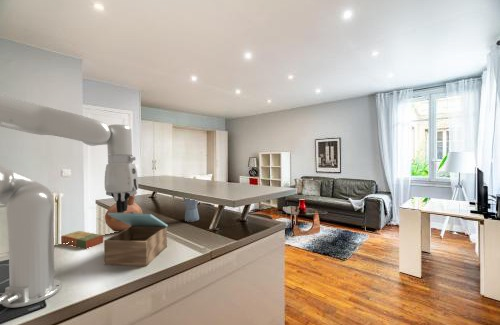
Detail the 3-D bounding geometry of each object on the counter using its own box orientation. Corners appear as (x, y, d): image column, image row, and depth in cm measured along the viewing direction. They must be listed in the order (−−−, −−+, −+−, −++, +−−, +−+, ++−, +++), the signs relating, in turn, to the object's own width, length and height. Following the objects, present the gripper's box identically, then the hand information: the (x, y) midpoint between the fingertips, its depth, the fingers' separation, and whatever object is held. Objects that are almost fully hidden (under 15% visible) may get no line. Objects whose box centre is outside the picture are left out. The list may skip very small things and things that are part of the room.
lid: (150, 215, 87) (151, 211, 88) (107, 214, 88) (109, 210, 89) (167, 226, 103) (168, 222, 104) (131, 225, 104) (132, 221, 105)
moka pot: (177, 221, 142) (177, 189, 142) (196, 216, 155) (196, 186, 155) (187, 224, 137) (187, 190, 136) (206, 218, 150) (206, 187, 149)
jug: (97, 230, 124) (96, 193, 124) (128, 222, 140) (128, 189, 140) (118, 236, 116) (118, 196, 115) (149, 226, 132) (149, 191, 131)
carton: (79, 238, 113) (79, 230, 113) (103, 243, 108) (103, 234, 108) (60, 244, 105) (60, 235, 105) (85, 250, 100) (85, 240, 100)
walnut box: (146, 266, 85) (146, 242, 85) (104, 264, 86) (104, 240, 86) (166, 246, 103) (166, 226, 103) (132, 245, 104) (131, 225, 104)
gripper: (146, 159, 85) (147, 209, 86) (107, 159, 86) (109, 208, 87) (134, 160, 78) (136, 214, 78) (92, 160, 79) (94, 214, 79)
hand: (122, 211), depth 83 cm, fingers closed
